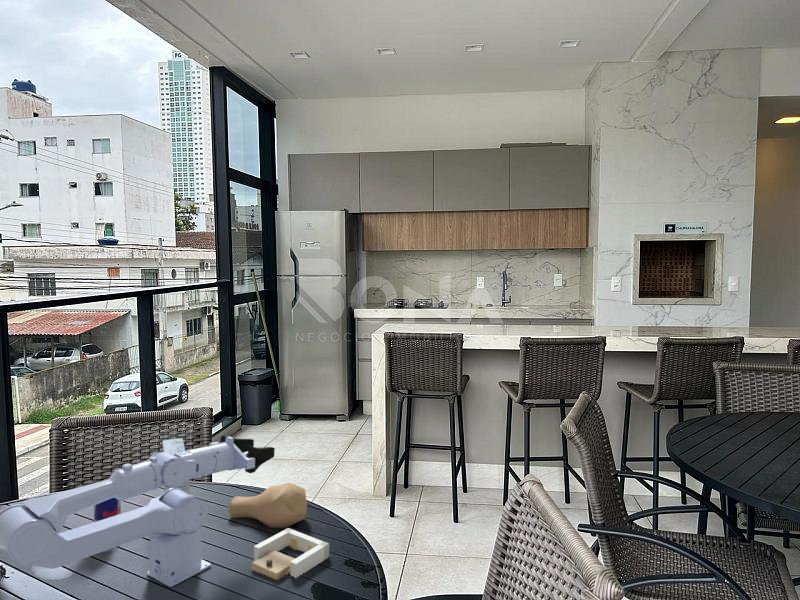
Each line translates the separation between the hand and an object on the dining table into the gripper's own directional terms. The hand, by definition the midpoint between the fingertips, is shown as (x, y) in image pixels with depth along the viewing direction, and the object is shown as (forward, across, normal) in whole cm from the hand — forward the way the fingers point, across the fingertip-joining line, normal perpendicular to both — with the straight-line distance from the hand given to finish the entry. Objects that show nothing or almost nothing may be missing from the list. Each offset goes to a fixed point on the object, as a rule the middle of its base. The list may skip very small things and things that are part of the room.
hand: (263, 447), depth 129 cm
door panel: (-6, -14, +21) cm, 26 cm away
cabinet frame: (-2, -14, +20) cm, 24 cm away
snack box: (-6, +26, +21) cm, 34 cm away
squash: (+6, +5, +20) cm, 22 cm away
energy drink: (-23, +23, +22) cm, 40 cm away
